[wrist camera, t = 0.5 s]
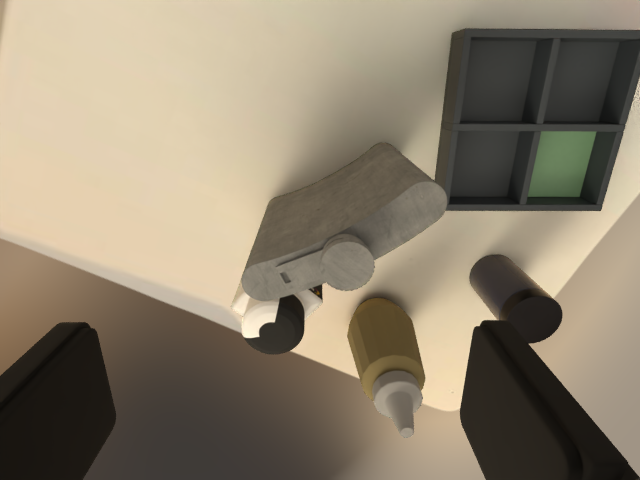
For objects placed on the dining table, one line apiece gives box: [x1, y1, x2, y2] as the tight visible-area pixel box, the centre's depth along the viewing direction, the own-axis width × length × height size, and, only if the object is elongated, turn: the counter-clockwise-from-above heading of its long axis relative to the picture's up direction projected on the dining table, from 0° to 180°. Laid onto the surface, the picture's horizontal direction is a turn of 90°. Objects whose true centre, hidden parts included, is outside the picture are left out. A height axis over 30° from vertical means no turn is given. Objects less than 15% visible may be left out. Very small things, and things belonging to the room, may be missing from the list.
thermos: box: [470, 255, 562, 344], centre depth 44 cm, size 6×6×10 cm
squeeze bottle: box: [347, 298, 425, 438], centre depth 42 cm, size 8×8×18 cm
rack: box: [435, 28, 640, 211], centre depth 40 cm, size 17×17×4 cm
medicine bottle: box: [231, 278, 323, 354], centre depth 43 cm, size 7×7×12 cm
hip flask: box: [241, 143, 447, 301], centre depth 35 cm, size 16×4×20 cm, turn 118°
